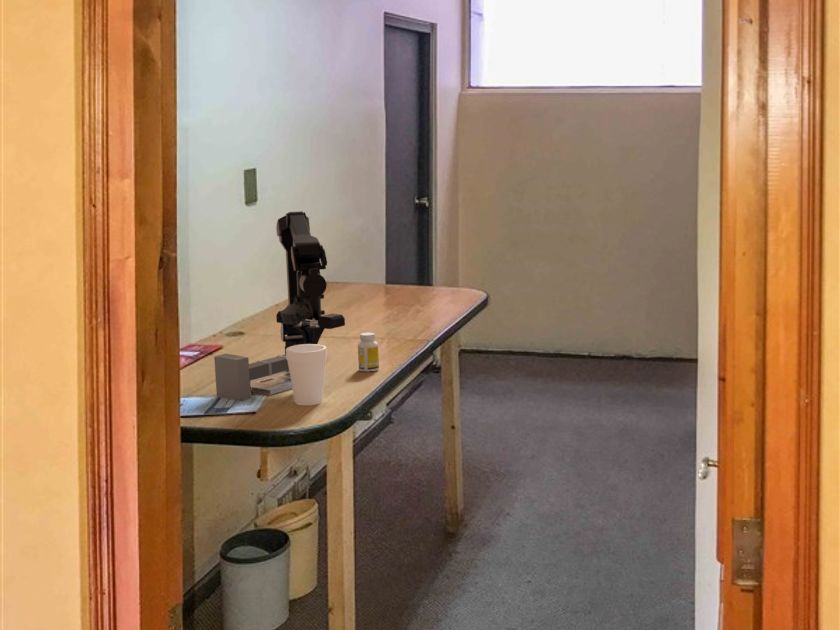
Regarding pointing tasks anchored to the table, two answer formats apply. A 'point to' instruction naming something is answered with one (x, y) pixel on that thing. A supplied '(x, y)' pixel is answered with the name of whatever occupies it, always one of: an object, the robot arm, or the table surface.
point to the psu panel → (272, 383)
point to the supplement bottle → (368, 353)
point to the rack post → (232, 376)
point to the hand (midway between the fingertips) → (311, 352)
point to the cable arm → (267, 367)
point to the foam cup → (307, 372)
